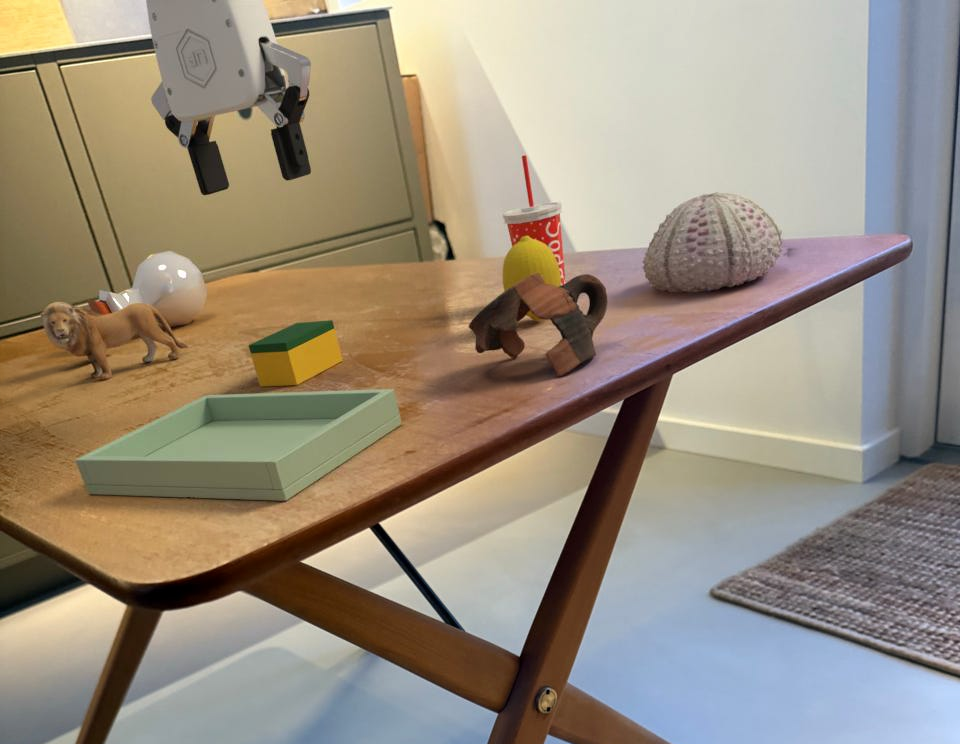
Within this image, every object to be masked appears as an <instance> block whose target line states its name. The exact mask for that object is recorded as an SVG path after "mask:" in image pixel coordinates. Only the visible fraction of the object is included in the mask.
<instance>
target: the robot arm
mask: <svg viewBox="0 0 960 744" xmlns="http://www.w3.org/2000/svg"><path fill="white" fill-rule="evenodd" d="M145 3H146V10H147V17H148V24H149V30H150V34H151V35H150V36H151V39H152V44H153V49H154V53H155V58H156V62H157V67H158V70H159V73H160V77H161V82H160V83H159V85H158V86H157V88H156V90H155V91H154V93H153V94H152V95H151V104H152V106H153V107H154V109H155V110H156V111H157V113H158V114H159V116H160V117H161V119H162V120H164V124H165V127H166V129H168V130H169V132H171V133H172V134H173V135H174V136H175V137H176V138H177V140H178V143H179V145H180V146H181V147H182V148H184V149H186V150H187V153H188V155H189V158H190V161H191V165H192V168H193V171H194V175H195V179H196V181H197V186H198V188H199V191H200V193H201V195H202V196H209V195H212V194H215V193H218V192H222V191H226V190H228V189H229V187H230V182H229V179H228V175H227V172H226V168H225V164H224V161H223V159H222V155H221V152H220V148H219V144H218V143H217V141H216V140H211V141H210V139H211V134H212V130H213V125H214V121H215V118H216V116H219V115H224V114H229V113H233V112H237V111H241V110H245V109H251V108H255V107H258V109H259V110H260V111H261V112H262V113H263V114H264V115H265V116H266V117H267V118H268V119H269V120H270V122H272V123H273V124H274V125H275V127H276V128H271V129H270V135H271V139H272V143H273V146H274V151H275V154H276V159H277V162H278V165H279V170H280V173H281V177H282V178H283V180H285V181H287V182H288V181H293V180H296V179H299V178H303V177H305V176H309V175H311V173H312V168H311V164H310V161H309V155H308V154H309V153H308V150H307V146H306V143H305V139H304V135H303V131H302V127H301V123H303V122H304V120H305V117H306V116H305V112H304V111H305V108H306V106H307V104H308V101H309V98H310V89H309V86H310V77H311V68H312V63H311V60H310V59H309V57H307V56H305V55H303V54H301V53H298V52H297V51H294V50H291V49H288V48H287V47H284V46H282V45H280V44H278V42H277V37H276V35H275V31H274V28H273V25H272V22H271V19H270V16H269V14H268V11H267V8H266V5H265V3H264V0H146V1H145ZM285 72H286V73H287V76H286V73H285ZM287 82H288V84H287ZM287 85H288V86H287Z"/></svg>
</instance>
